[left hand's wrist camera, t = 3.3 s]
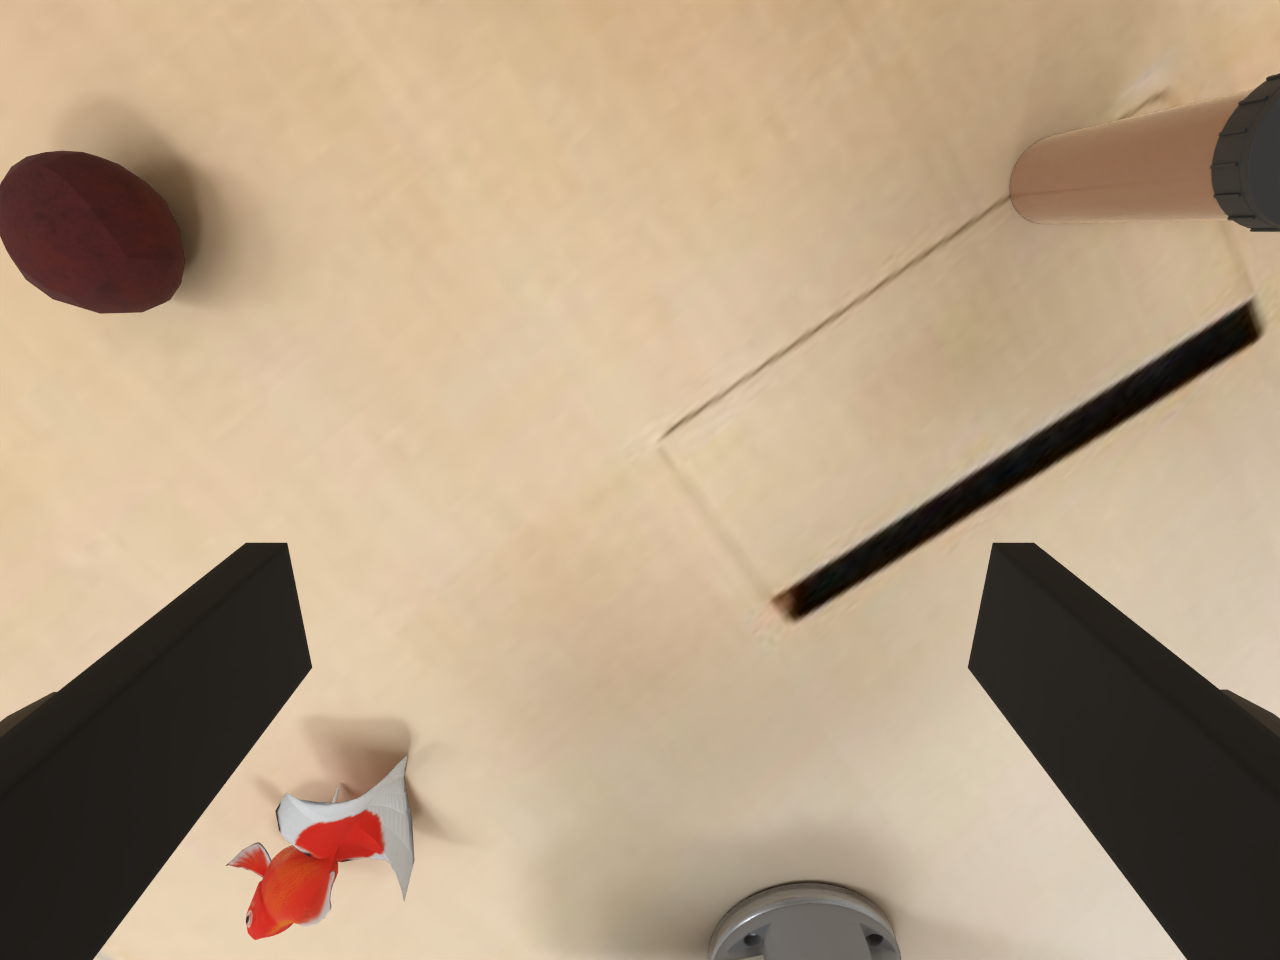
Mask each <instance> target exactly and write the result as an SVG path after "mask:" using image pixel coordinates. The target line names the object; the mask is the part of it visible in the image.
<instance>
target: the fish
mask: <svg viewBox="0 0 1280 960" xmlns="http://www.w3.org/2000/svg"><path fill="white" fill-rule="evenodd" d="M407 757H408V754H407V755H406V756H405V757H404V758H403V759H402V760H401V761H400V762H399V763H398V764H397V765H396V766H395V767H394V768H393V769H392V770H391V771H390V773H389V774H388V775H387V776H386V777H385V778H384V779H383V780H382V781H380V782H379V783H378V784H377V785H375V786H374V787H373V788H371V789H370V790H369V791H367V792H366V793H365V794H363V795H362V796H360V797H359V798H358V799H354V800H349V801H345V802H340V803H336V800H337V795H338V791H339V786H338V787H337V790H336V793H335V795H334V798H333V800H332V803H319V802H312V801H306V800H299V799H297V798H295V797H293V796H291V795H289V794H287V793H286V794H285V796H284V797H283V799H282V801H281V802H280V804H279V806H278V808H277V809H276V816H277V821H278V827H279V831H280V832H281V834H282V835H283V836H284V838H285V839H286V840H287V841H288V842H289V843H291V844H292V845H291V846H289V847H287V848H285V849H283V850H282V851H281V852H280V853H278V854H277V855H276V856H275V857H274V858H273V860H272V861H271V859H270V857H269V854H268V853H267V851H266V849H265V848H264V847H263V845H262V844H261V843H255V844H253V845H251V846H249V847H247V848H246V849H244V850H242V851H241V852H240V853H239V854H238V855H237V856H236V857H235V858H234V859H233V860H232V861H231V862H230V863H228V864H227V865H231V866H234V867H242V868H244V869H247V870H251V871H253V872H255V873H256V874H258V875H260V876H261V877H263V880H262V881H261V882H259V884H258V886H257V889H256V892H255V894H254V897H253V899H252V902H251V904H250V906H249V909H248V912H247V916H246V925H247V930H248V934H249V935H250V936H251V937H252V938H253V939H255V940H257V939H260V938H265V937H270V936H274V935H276V934H279V933H281V932H283V931H285V930H286V929H288V928H289V927H290V926H291V925H292V924H293V923H296V924H300V925H302V926H309V925H313V924H317V923H319V922H320V921H321V920H322V919H324V918H325V916H326V915H327V914H328V912H329V911H330V909H331V902H330V895H331V889H332V885H333V883H334V881H335V879H336V876H337V874H338V862H345V861H350V860H356V859H362V858H372V859H379V860H386V861H387V862H388V863H389V864H390V865H391V867H392V868H393V870H394V872H395V874H396V875H397V878H398V881H399V883H400V886H401V890H402V893H403V899H404V900H405V896H406V892H407V888H408V884H409V880H410V876H411V872H412V868H413V863H414V847H413V829H412V818H411V813H410V807H409V802H408V796H407V790H406V784H405V778H404V775H405V770H406V763H407ZM227 865H226V866H227Z"/></svg>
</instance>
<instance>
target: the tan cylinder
mask: <svg viewBox="0 0 1280 960" xmlns="http://www.w3.org/2000/svg"><path fill="white" fill-rule="evenodd" d="M1253 90H1255V89H1251V90H1247V91H1243V92H1238V93H1234V94H1230V95H1225V96H1221V97H1217V98H1212V99H1208V100H1204V101H1199V102H1195V103H1191V104H1187V105H1182V106H1178V107H1174V108H1169V109H1165V110H1161V111H1156V112H1152V113H1148V114H1143V115H1139V116H1135V117H1130V118H1126V119H1122V120H1117V121H1113V122H1109V123H1104V124H1100V125H1096V126H1091V127H1087V128H1083V129H1078V130H1074V131H1070V132H1065V133H1061V134H1057V135H1053V136H1048V137H1046V138H1043V139H1041V140H1039V141H1037V142H1036V143H1034V144H1033V145H1031V146H1030V147H1029V148H1028V149H1027V150H1026V151H1025V152H1024V153H1023V154H1022V156H1021V157H1020V158H1019V160H1018V162H1017V163H1016V165H1015V167H1014V170H1013V172H1012V176H1011V180H1010V196H1011V200H1012V203H1013V205H1014V207H1015V209H1016V210H1017V212H1018V213H1019V214H1020V215H1021V216H1022V217H1023V218H1025V219H1027V220H1028V221H1031V222H1034V223H1041V224H1051V223H1106V222H1162V221H1217V220H1228V219H1227V218H1228V216H1227V215H1226V214H1225V213H1224V211H1223V210H1222V209H1221V208H1220V206H1219V204H1218V202H1217V200H1216V198H1213V195H1214V192H1213V187H1212V181H1211V169H1210V166H1211V165H1212V159H1213V154H1214V150H1215V147H1216V144H1217V141H1218V138H1219V136H1218V135H1219V133H1220V132H1222V129H1223V128H1224V126H1225V124H1226V122H1227V121H1228V119H1229V117H1230V116H1231V115H1232V113H1233V112H1234V110H1235V109H1236V108H1237V107H1238V106H1239V104H1238V103H1239V102H1240V101H1242V100H1244V99H1245V98H1246V97H1247V96H1248V95H1249V94H1250V93H1251V92H1252V91H1253Z"/></svg>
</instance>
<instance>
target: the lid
mask: <svg viewBox="0 0 1280 960" xmlns="http://www.w3.org/2000/svg"><path fill="white" fill-rule="evenodd" d="M1266 80H1267V81H1265V82H1264V83H1262V84H1261V85H1260V86H1258V87H1257V88H1256V89H1255V90H1253V91H1252V92H1251V93H1250V94H1249V95H1248V96H1247V97H1246V98H1245V99H1244V100H1242V101H1240V102H1239V103H1238V104H1239V106H1238V107H1237V108H1236V109H1235V110H1234V112H1233V113H1232V115H1231V116H1230V117H1229V119H1228V121H1227V122H1226V124H1225V126H1224V128H1223V129H1222V132H1220V133H1219V135H1218V136H1219V138H1218V141H1217V144H1216V147H1215V150H1214V154H1213V159H1212V165H1211V166H1210V169H1211V181H1212V187H1213V192H1214V195H1213V198H1216V200H1217V202H1218V204H1219V206H1220V208H1221V209H1222V210H1223V211H1224V213H1225V214H1226V215H1227V216H1228V218H1227V219H1228V220H1233V221H1235V222H1236V223H1238V224H1240V225H1242V226H1245V227H1247V228H1251V230H1250V231H1252V232H1280V73H1279V74H1277V75H1273V76H1269V77H1267V78H1266Z"/></svg>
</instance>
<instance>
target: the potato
mask: <svg viewBox="0 0 1280 960" xmlns="http://www.w3.org/2000/svg"><path fill="white" fill-rule="evenodd" d="M0 237H1V239H2V241H3V243H4V246H5V248H6V250H7V252H8V253H9V255H10V257H11V259H12V260H13V262H14V263H15V264H16V266H17V267H18V269H19V270H20V272H21V273H22V274H23V276H24V277H25V279H26V280H27V281H29V282H30V283H31V284H33V285H34V286H35V287H37V288H38V289H40V290H41V291H42V292H44V293H45V294H47V295H48V296H49V297H51V298H52V299H54V300H58V301H61V302H64V303H68V304H71V305H74V306H77V307H81V308H84V309H87V310H91V311H94V312H97V313H133V312H144V311H146V310H149V309H151V308H153V307H156V306H158V305H160V304H163V303H165V302H167V301H169V300H170V299H171V298H172V296H173V295H174V293H175V292H176V290H177V289H178V287H179V286H180V284H181V281H182V275H183V269H184V263H185V259H184V253H183V247H182V242H181V236H180V230H179V228H178V226H177V224H176V222H175V220H174V218H173V216H172V213H171V211H170V209H169V207H168V205H167V203H166V201H165V200H164V199H163V198H162V197H161V196H160V195H159V194H158V193H157V192H156V191H155V190H154V189H153V188H152V187H151V186H150V185H149V184H148V183H146V182H145V181H143V180H142V179H140V178H139V177H137V176H136V175H134V174H133V173H131V172H130V171H128V170H127V169H125V168H124V167H122V166H121V165H119V164H116V163H114V162H111V161H109V160H106V159H103V158H101V157H98V156H94V155H91V154H87V153H84V152H72V151H55V152H45V153H40V154H36V155H32V156H28V157H26V158H24V159H23V160H21V161H20V162H18V163H17V164H15V165H14V166H12V167H11V168H10V170H9V171H8V173H7V174H6V176H5V178H4V179H3V181H2V182H1V184H0Z"/></svg>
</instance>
